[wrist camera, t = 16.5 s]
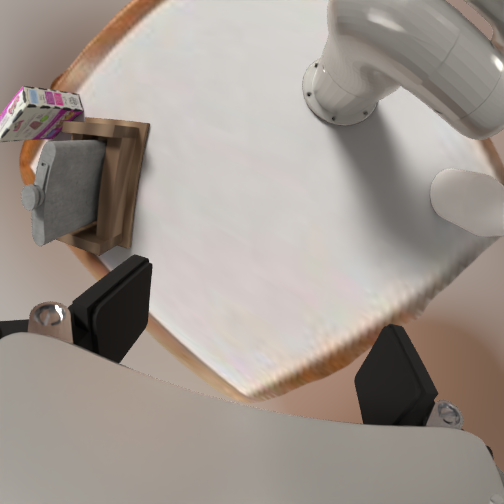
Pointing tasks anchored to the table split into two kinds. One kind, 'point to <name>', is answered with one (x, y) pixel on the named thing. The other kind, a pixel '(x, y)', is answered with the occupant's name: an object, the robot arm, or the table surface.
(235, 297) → the table surface
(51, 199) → the hip flask
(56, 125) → the candy bar box
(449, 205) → the white tall cylinder
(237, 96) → the table surface
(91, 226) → the brown rectangular open tray
